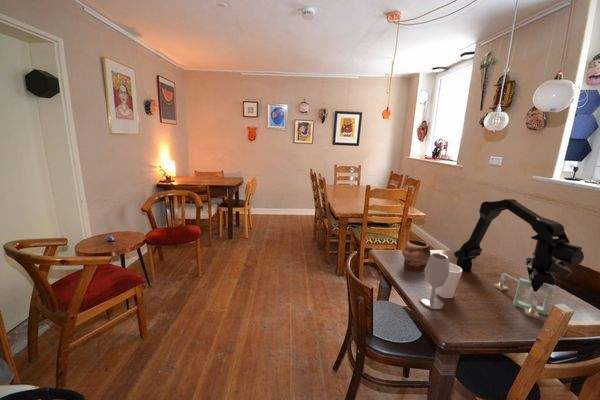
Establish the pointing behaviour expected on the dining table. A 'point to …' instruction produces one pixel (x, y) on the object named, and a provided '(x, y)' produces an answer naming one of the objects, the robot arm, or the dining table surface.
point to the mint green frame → (527, 305)
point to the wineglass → (435, 278)
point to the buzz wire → (500, 286)
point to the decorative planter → (416, 255)
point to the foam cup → (450, 282)
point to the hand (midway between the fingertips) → (534, 289)
